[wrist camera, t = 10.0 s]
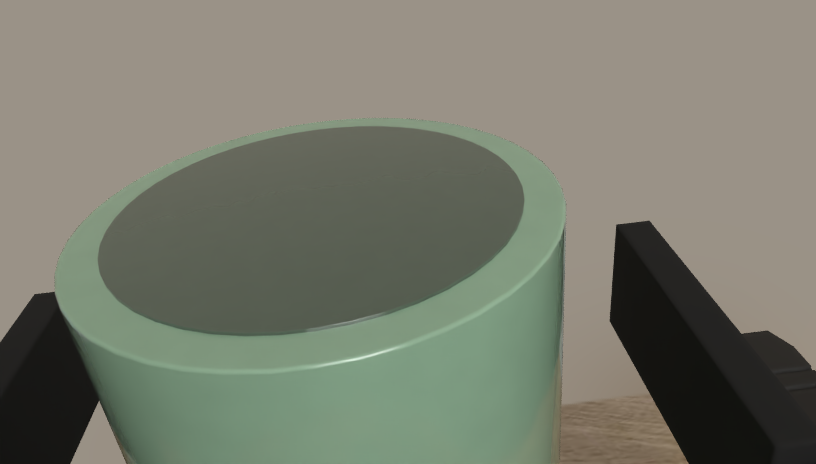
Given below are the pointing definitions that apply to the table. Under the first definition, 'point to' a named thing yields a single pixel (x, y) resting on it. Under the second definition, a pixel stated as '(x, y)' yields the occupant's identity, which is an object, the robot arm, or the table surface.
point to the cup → (328, 300)
